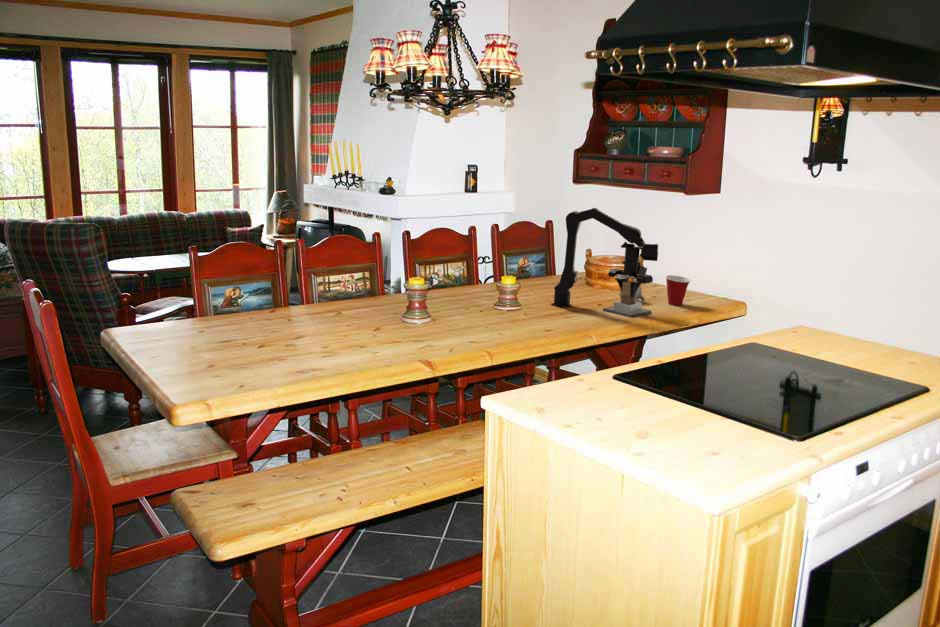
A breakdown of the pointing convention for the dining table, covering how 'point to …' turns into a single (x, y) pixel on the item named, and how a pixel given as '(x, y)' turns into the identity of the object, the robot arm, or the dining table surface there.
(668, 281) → the plastic cup
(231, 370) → the dining table surface
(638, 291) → the ceramic mug
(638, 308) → the metal square socket base
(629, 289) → the walnut post
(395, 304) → the dining table surface
